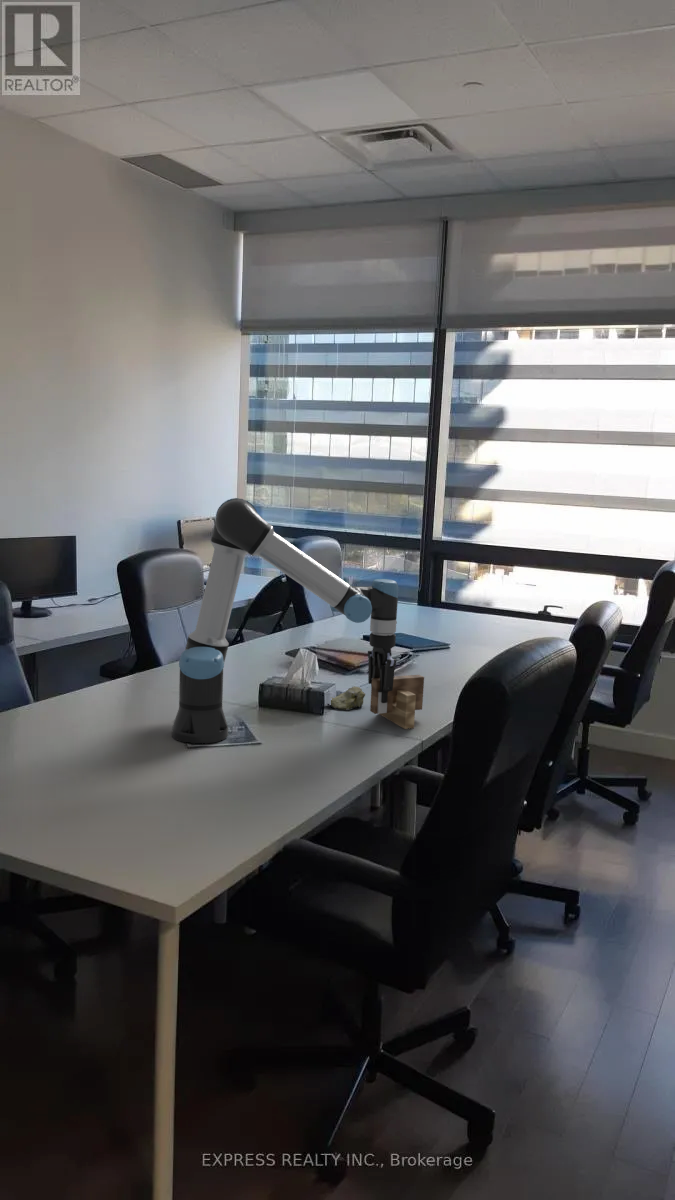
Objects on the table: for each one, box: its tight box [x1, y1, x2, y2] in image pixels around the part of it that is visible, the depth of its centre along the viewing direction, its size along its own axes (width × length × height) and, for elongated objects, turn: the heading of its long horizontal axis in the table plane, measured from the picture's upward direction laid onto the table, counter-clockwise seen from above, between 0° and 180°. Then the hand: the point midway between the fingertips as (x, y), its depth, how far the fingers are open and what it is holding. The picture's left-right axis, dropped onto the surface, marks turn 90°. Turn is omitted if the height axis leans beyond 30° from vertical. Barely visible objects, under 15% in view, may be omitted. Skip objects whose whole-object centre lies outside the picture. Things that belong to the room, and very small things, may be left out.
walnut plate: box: [369, 674, 425, 715], centre depth 267 cm, size 16×3×10 cm, turn 116°
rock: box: [330, 685, 366, 711], centre depth 281 cm, size 11×6×10 cm
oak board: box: [379, 690, 416, 730], centre depth 268 cm, size 3×16×10 cm, turn 26°
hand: (379, 711), depth 265 cm, fingers closed on walnut plate, 3 cm apart
